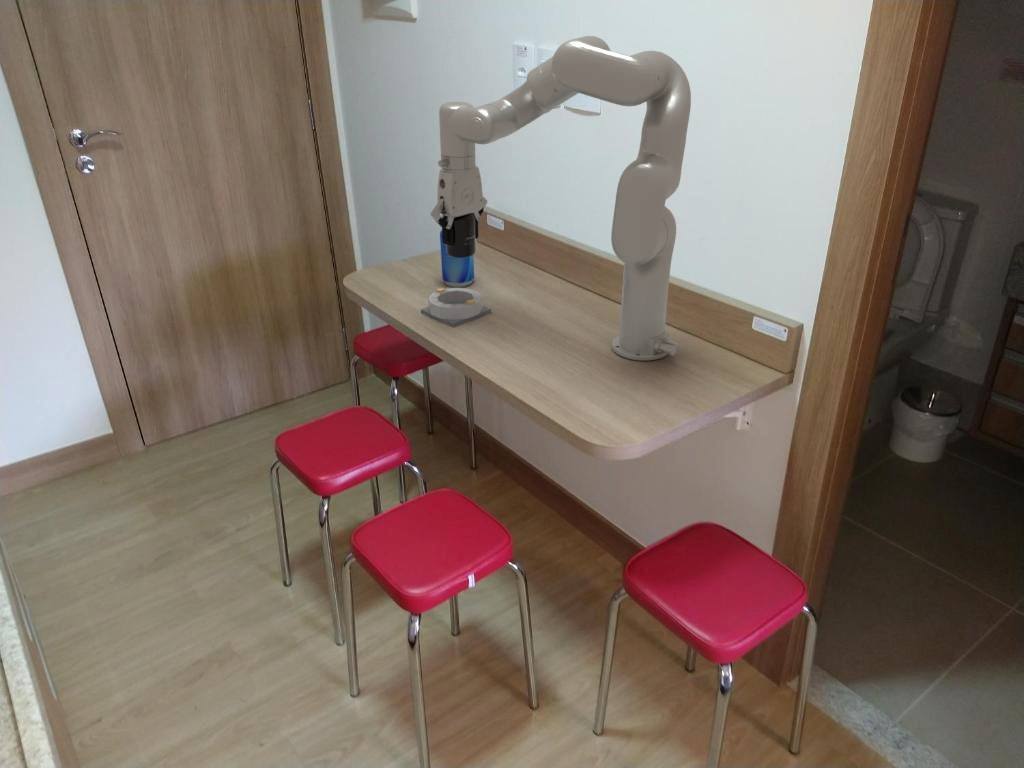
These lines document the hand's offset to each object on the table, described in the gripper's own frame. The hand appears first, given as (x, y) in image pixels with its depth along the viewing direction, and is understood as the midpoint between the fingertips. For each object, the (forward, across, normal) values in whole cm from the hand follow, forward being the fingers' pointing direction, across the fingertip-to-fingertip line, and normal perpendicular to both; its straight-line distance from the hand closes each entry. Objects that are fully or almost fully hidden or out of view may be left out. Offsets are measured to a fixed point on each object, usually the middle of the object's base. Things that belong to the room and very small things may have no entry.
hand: (460, 240), depth 182 cm
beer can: (+19, +13, +17) cm, 28 cm away
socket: (+19, -1, +2) cm, 19 cm away
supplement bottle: (+3, 0, 0) cm, 3 cm away
